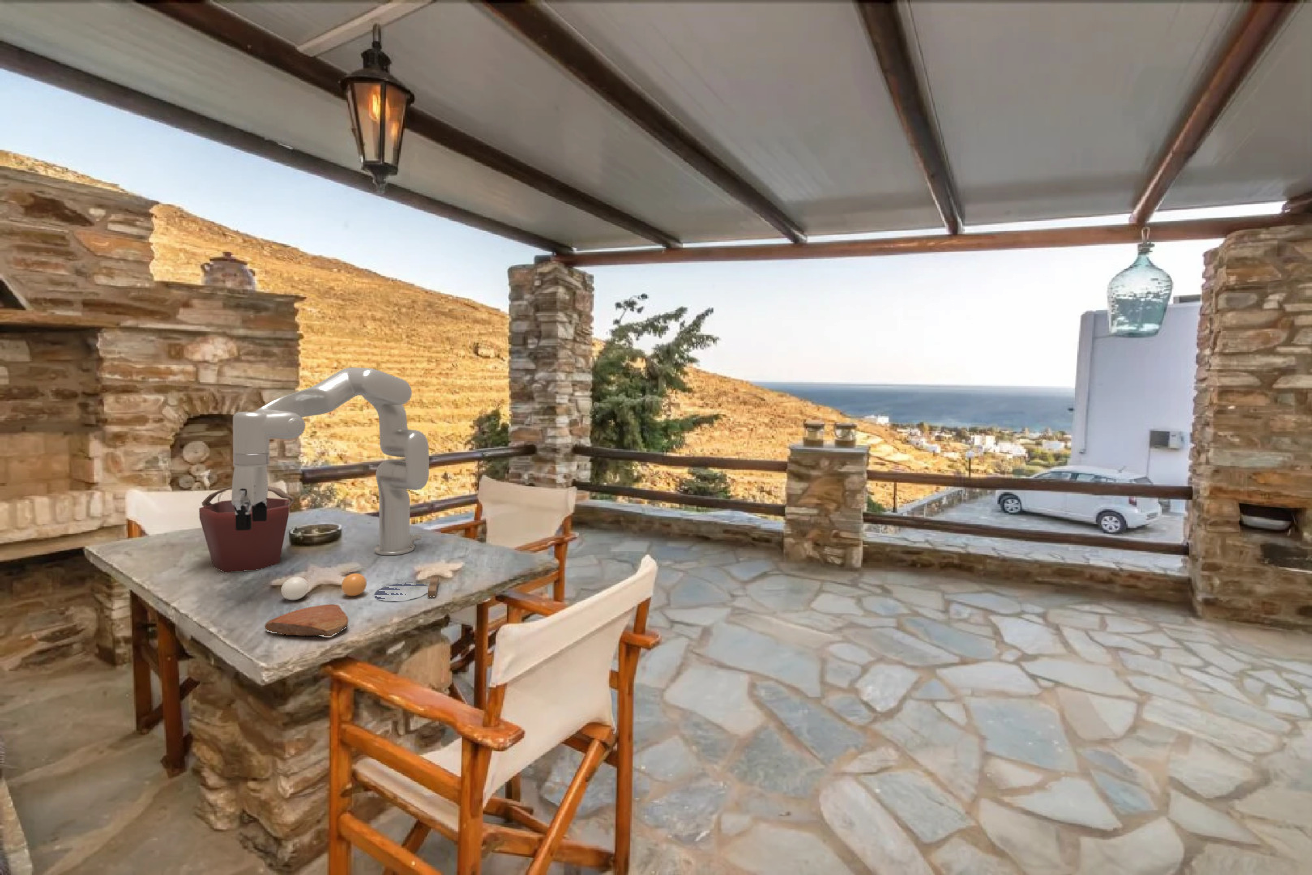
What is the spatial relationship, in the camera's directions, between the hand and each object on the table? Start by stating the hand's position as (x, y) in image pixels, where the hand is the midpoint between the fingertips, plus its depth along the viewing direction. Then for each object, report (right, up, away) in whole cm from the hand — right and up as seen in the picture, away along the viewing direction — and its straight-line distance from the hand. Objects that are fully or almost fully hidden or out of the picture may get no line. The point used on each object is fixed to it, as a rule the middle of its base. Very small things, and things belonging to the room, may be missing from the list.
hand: (251, 525), depth 141 cm
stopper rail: (+42, -21, +14) cm, 48 cm away
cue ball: (+9, -17, +3) cm, 20 cm away
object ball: (+23, -17, +7) cm, 29 cm away
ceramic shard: (+24, -23, -14) cm, 36 cm away
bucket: (-22, -17, +28) cm, 39 cm away
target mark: (+34, -21, +11) cm, 41 cm away
